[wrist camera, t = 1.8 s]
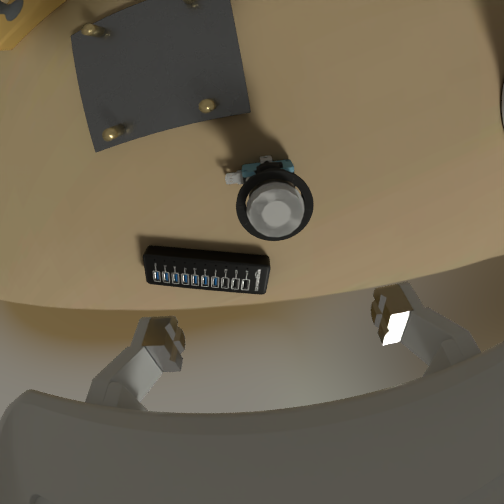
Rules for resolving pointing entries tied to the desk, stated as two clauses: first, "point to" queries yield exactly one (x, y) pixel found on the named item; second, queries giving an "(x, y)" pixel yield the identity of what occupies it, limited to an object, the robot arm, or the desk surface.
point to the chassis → (159, 69)
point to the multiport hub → (206, 269)
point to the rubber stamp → (22, 19)
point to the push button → (272, 199)
